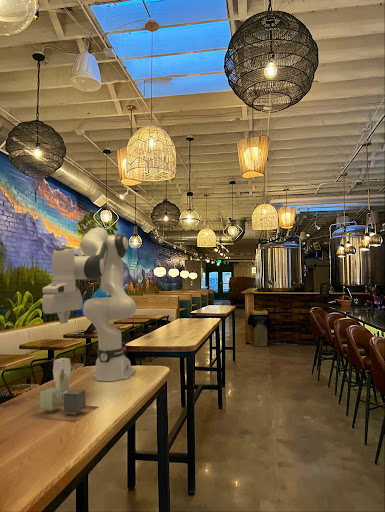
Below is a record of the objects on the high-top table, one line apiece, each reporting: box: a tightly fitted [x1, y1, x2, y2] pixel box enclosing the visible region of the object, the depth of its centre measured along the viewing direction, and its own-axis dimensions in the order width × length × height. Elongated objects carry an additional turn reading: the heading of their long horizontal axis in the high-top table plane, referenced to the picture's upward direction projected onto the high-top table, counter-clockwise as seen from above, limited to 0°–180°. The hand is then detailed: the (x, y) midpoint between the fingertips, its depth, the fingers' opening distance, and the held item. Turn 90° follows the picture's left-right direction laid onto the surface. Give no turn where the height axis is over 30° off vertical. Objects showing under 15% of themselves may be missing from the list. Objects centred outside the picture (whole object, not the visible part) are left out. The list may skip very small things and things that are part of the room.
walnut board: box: [28, 402, 99, 423], centre depth 131 cm, size 15×19×1 cm
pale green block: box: [39, 387, 63, 413], centre depth 132 cm, size 5×5×8 cm
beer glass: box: [52, 357, 72, 397], centre depth 152 cm, size 7×7×15 cm
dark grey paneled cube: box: [63, 389, 87, 413], centre depth 129 cm, size 5×5×6 cm
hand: (63, 323), depth 143 cm, fingers closed
